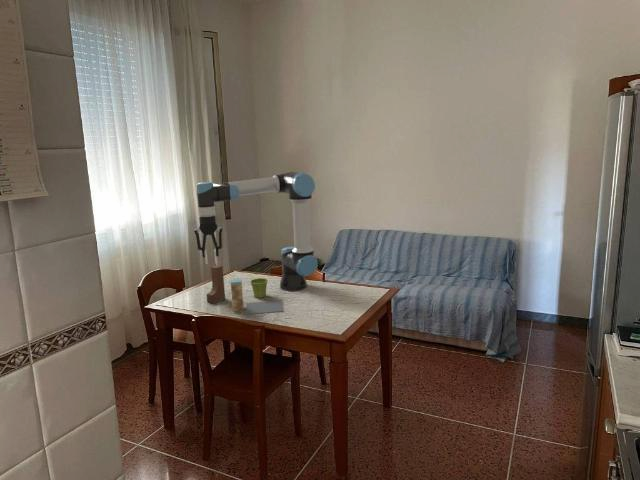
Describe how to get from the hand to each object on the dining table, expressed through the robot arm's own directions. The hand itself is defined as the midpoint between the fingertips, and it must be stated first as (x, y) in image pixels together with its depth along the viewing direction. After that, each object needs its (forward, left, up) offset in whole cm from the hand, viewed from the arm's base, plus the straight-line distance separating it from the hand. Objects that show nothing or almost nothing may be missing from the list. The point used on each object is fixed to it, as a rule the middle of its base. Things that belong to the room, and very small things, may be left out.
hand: (211, 263), depth 225 cm
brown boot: (+1, -17, -25) cm, 30 cm away
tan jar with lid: (-11, 0, -25) cm, 27 cm away
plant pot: (-22, -18, -25) cm, 38 cm away
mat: (-24, 0, -25) cm, 34 cm away
